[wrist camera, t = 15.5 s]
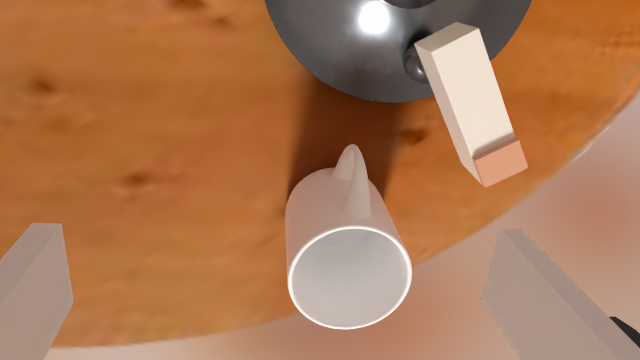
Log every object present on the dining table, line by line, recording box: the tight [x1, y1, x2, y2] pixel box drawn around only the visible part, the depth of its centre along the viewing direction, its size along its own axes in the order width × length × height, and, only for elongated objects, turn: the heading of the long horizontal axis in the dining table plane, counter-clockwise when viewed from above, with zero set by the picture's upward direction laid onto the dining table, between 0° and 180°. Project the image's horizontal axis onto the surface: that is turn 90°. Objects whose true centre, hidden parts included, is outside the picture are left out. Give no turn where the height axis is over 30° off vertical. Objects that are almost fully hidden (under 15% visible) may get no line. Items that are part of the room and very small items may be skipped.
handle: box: [414, 22, 528, 188], centre depth 31 cm, size 9×3×9 cm, turn 26°
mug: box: [285, 144, 412, 329], centre depth 37 cm, size 9×12×11 cm
